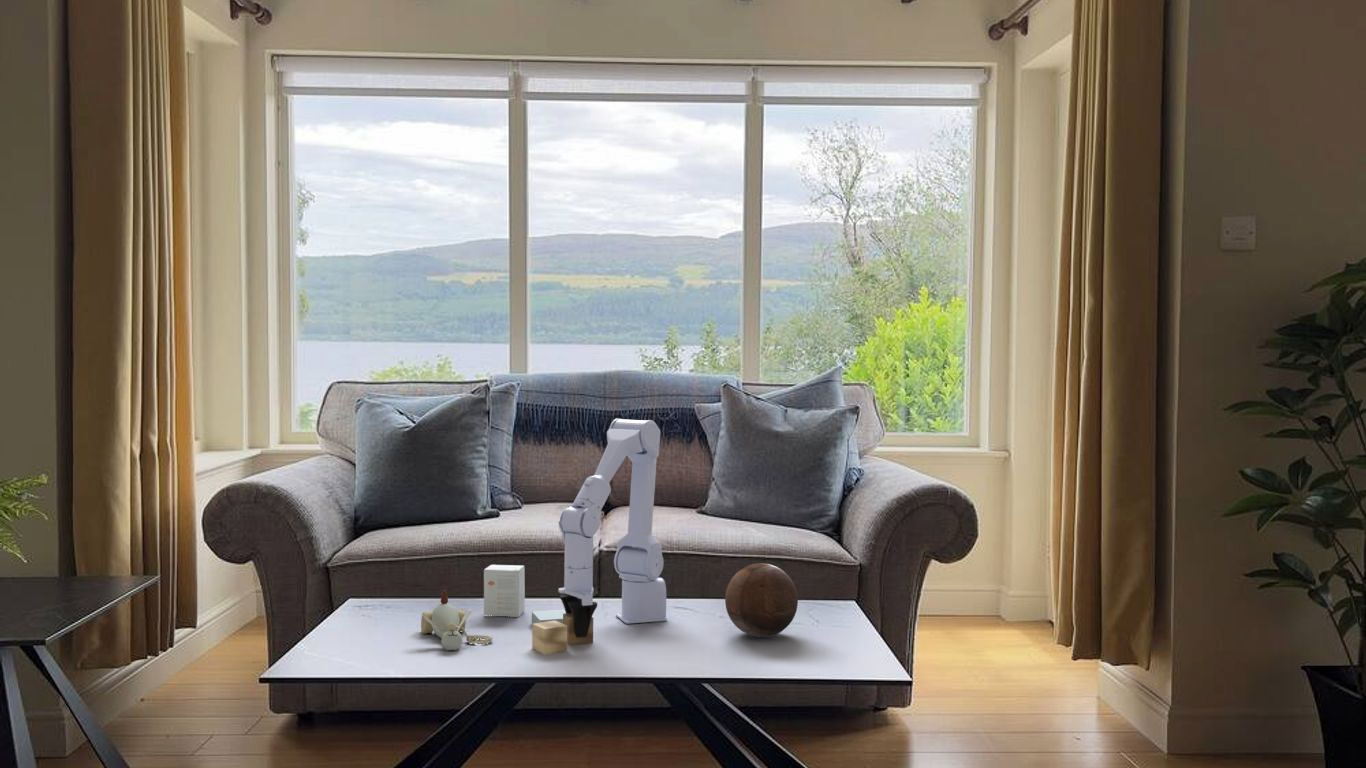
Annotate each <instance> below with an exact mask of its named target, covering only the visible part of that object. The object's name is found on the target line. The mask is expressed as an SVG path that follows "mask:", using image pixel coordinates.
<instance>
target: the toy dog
mask: <svg viewBox="0 0 1366 768" xmlns="http://www.w3.org/2000/svg"><path fill="white" fill-rule="evenodd" d="M448 602H449V598H448V592H447V590H445V589H444V590H442V591H441V597H440V604H438V605H436V606H435V607H434V608H433V610H432V611H423V612H422V614H421V620H420V630H421V634H422V633H423V634H422V635H428V634H427V633H433V632H434V634H436V635H437V637H439V638H440V639H441V640H440V642H441V645H442V648H443V649H445V650H446V651H448V650H455V651H458V650H459V648H460V647H462V644H463V635H462V634H461V632H459V631H463V632H462V633H463V634H464V635H465V637H466V642H467V641H468V642H467V643H468V644H469V643H472V644H471V645H473V644H475V643H477V644H487V643H490V642H491V643H492V642H493V635H492V636H491V635H481V634H468V633H467V631H466V630H465V629H466V620H467V619H468V618H469V617H470V615H471V613H472V612H473V611H472V608H469V609H468V610H467V611H465V610H463V609H462V610H461V609H457V608H456V607H455V606H454V605H452V604H450V603H448ZM478 638H479V639H480V638H481V639H485V640H477V639H478ZM491 643H490V644H491Z"/></svg>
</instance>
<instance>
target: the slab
mask: <svg viewBox="0 0 1366 768" xmlns="http://www.w3.org/2000/svg"><path fill="white" fill-rule="evenodd" d="M563 614H566V612H565V608H561V609H549V610H535V611H534V610H533V611H531V625H532V624H534V623H541V622H547V621H554V620H555V621H558V622H560V623H562V624H563Z"/></svg>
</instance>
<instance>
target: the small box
mask: <svg viewBox="0 0 1366 768" xmlns="http://www.w3.org/2000/svg"><path fill="white" fill-rule="evenodd" d="M525 573H526V572H525V565H513V564H511V565H509V564H490V565H489V566H487V567H486V568H484V569H483V616H484V615H488V616H487V617H492V616H508V617H507V618H519V617H521V615H523V613H524V612H525V609H526V603H525V602H526V599H525V598H526V595H525V593H526V591H525V590H526V589H525V582H526V581H525V579H526V578H525V576H526V575H525ZM489 615H490V616H489ZM491 615H492V616H491ZM509 616H510V617H509Z"/></svg>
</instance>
